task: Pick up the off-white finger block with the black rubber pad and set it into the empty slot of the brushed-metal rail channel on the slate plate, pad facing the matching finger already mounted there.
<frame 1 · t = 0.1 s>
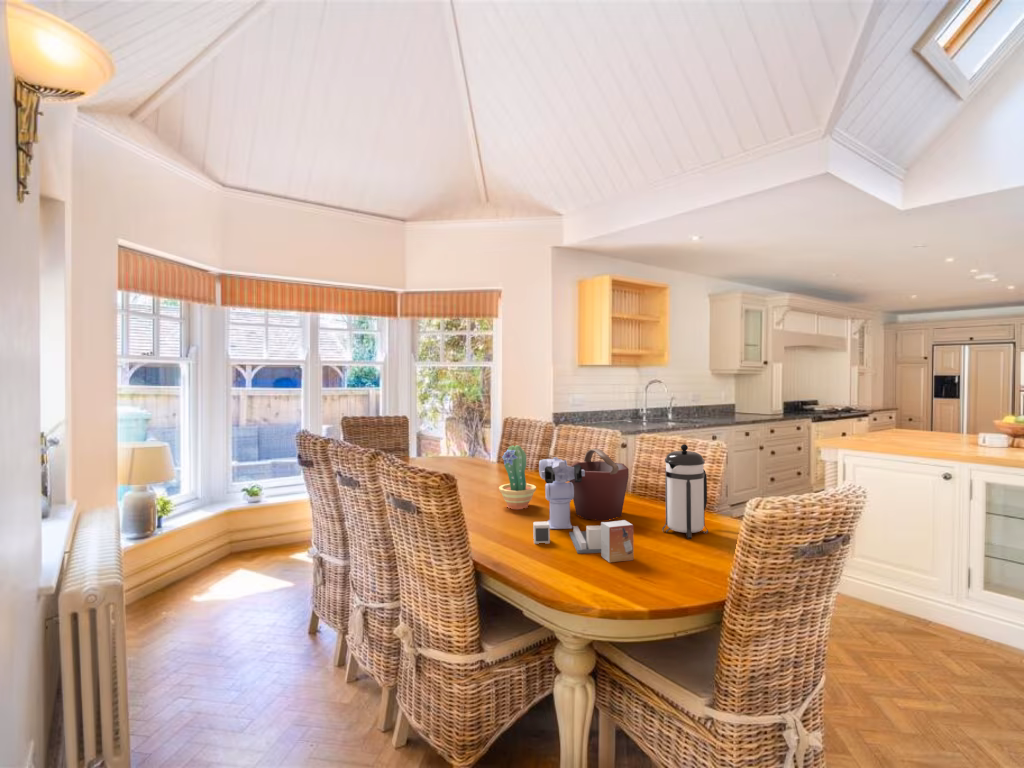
hand: (565, 477, 168), 22 cm above the table, tool horizontal, fingers open, 7 cm apart
small box: (617, 559, 155), on the table
potted cactus: (517, 506, 216), on the table
rail plate: (591, 543, 169), on the table
finger block: (541, 541, 172), on the table
coffee press: (686, 532, 179), on the table
bucket: (597, 515, 201), on the table
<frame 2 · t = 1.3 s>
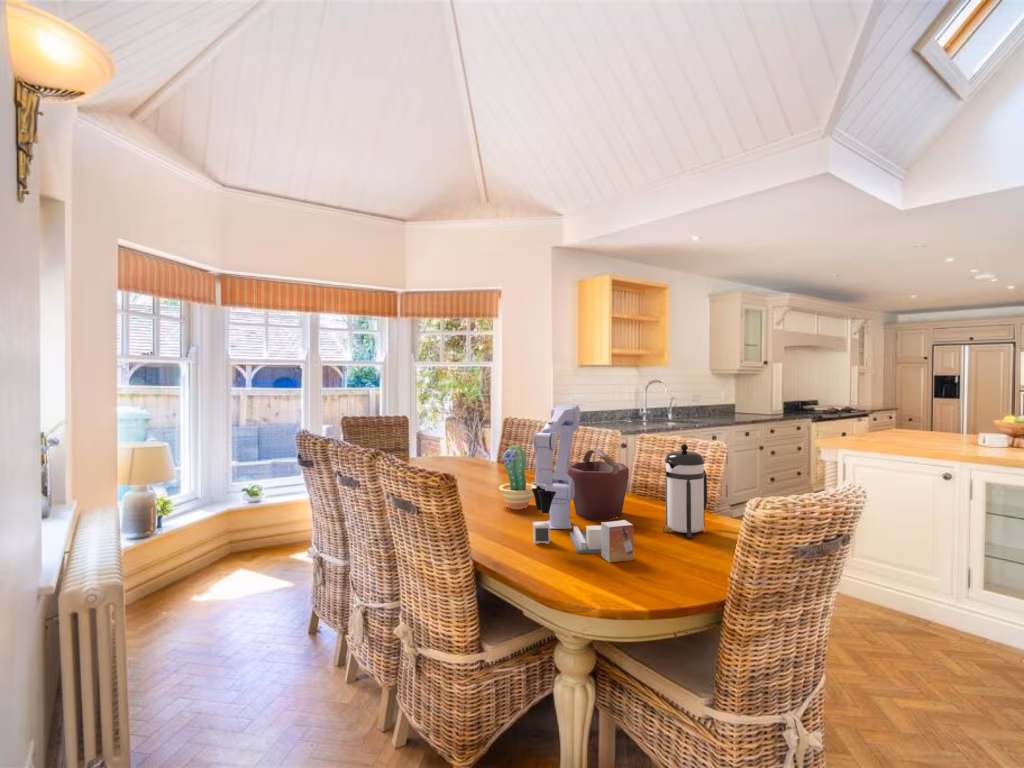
hand: (542, 511, 171), 10 cm above the table, tool pointing down, fingers open, 7 cm apart
nothing on the table moved.
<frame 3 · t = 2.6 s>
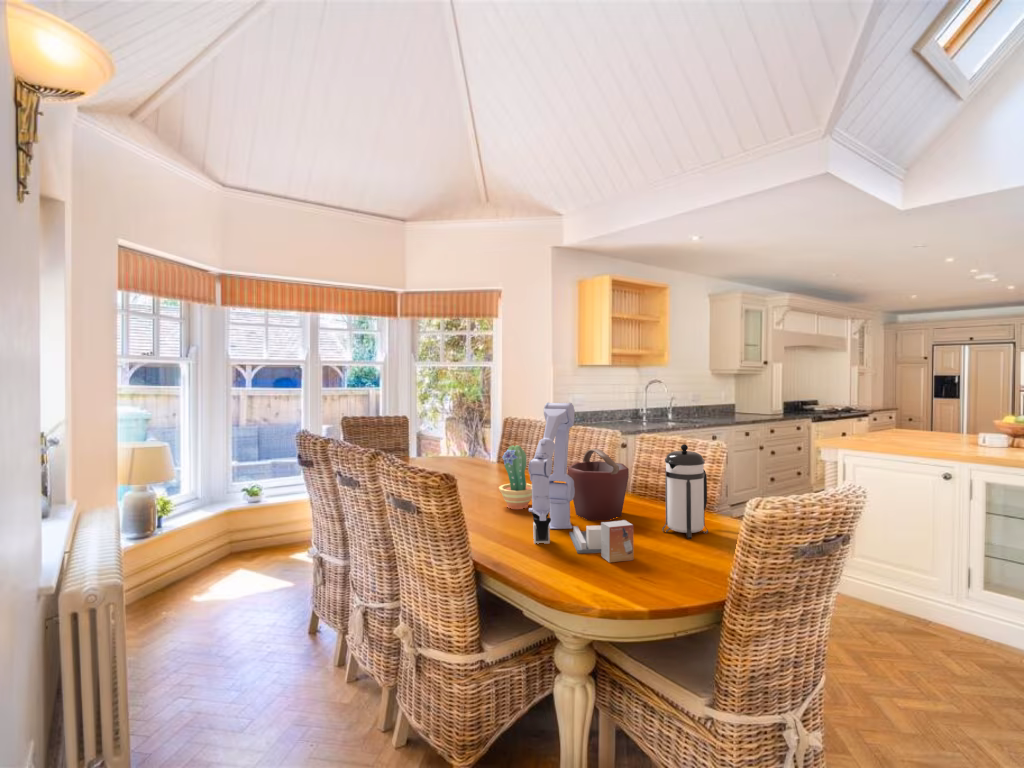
hand: (541, 536, 172), 2 cm above the table, tool pointing down, fingers open, 5 cm apart
finger block: (541, 541, 172), on the table, touching gripper
everything else where it was.
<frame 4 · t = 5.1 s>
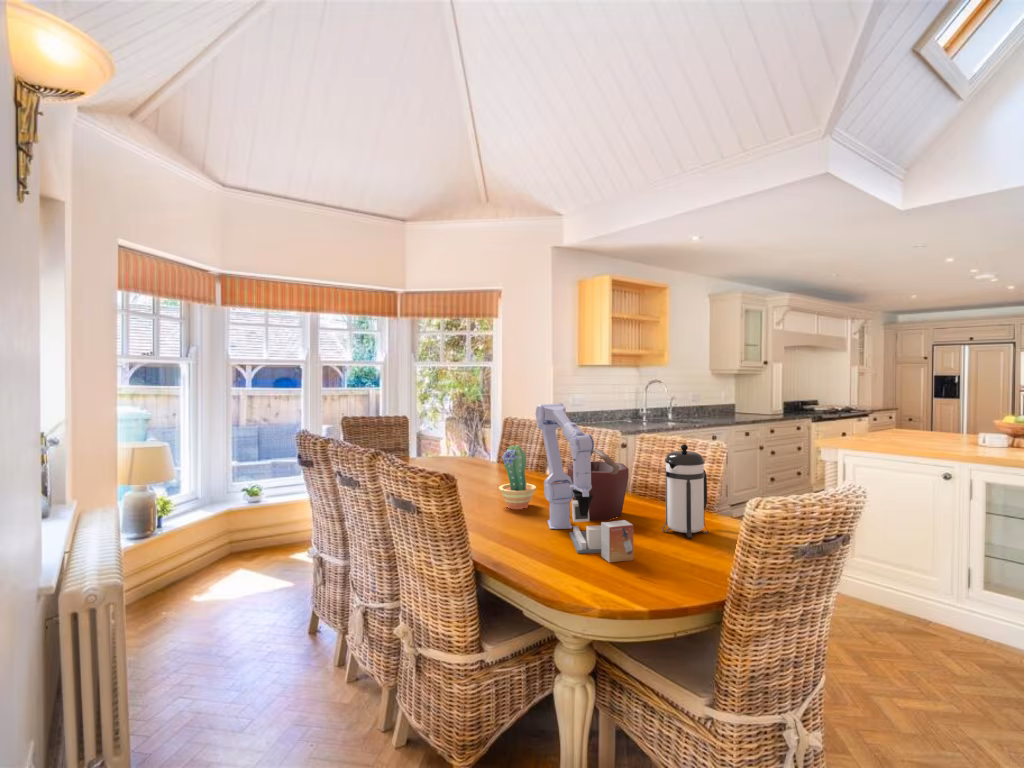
hand: (582, 513, 171), 9 cm above the table, tool pointing down, fingers closed on finger block, 4 cm apart
finger block: (580, 519, 172), point 7 cm above the table, touching gripper
everything else where it was.
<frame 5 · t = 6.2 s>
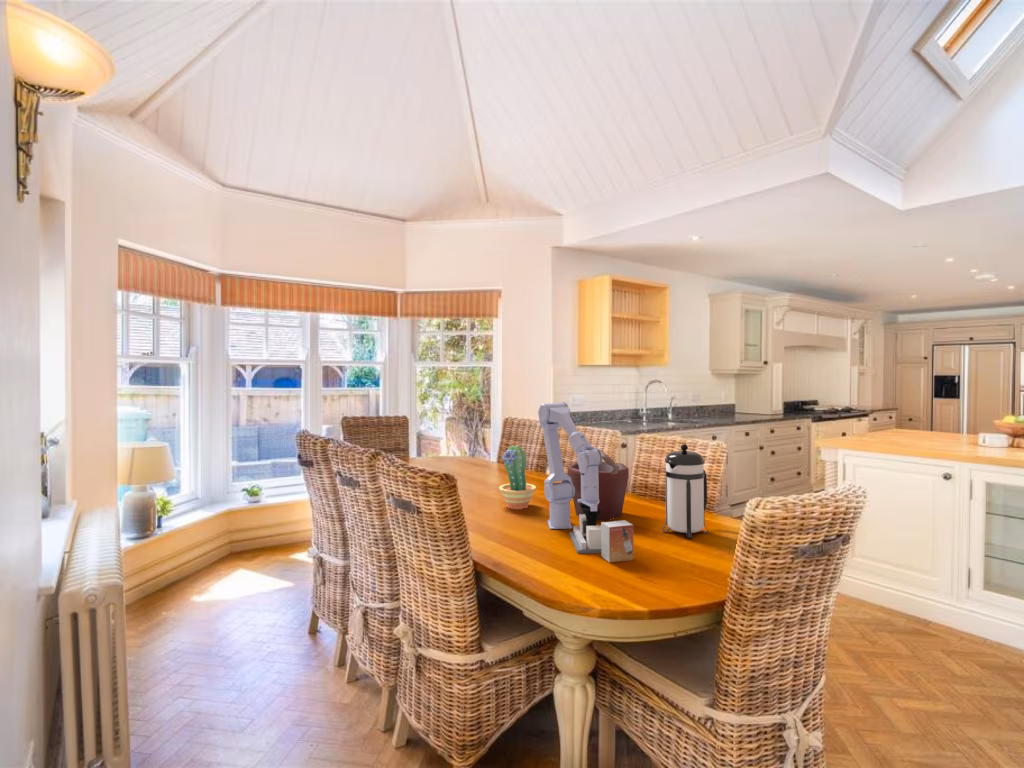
hand: (590, 527, 172), 4 cm above the table, tool pointing down, fingers closed on finger block, 4 cm apart
finger block: (588, 533, 172), point 2 cm above the table, touching gripper
everything else where it was.
when the fingers open (4 cm above the table, at t = 7.1 s): finger block stays where it is, resting on rail plate.
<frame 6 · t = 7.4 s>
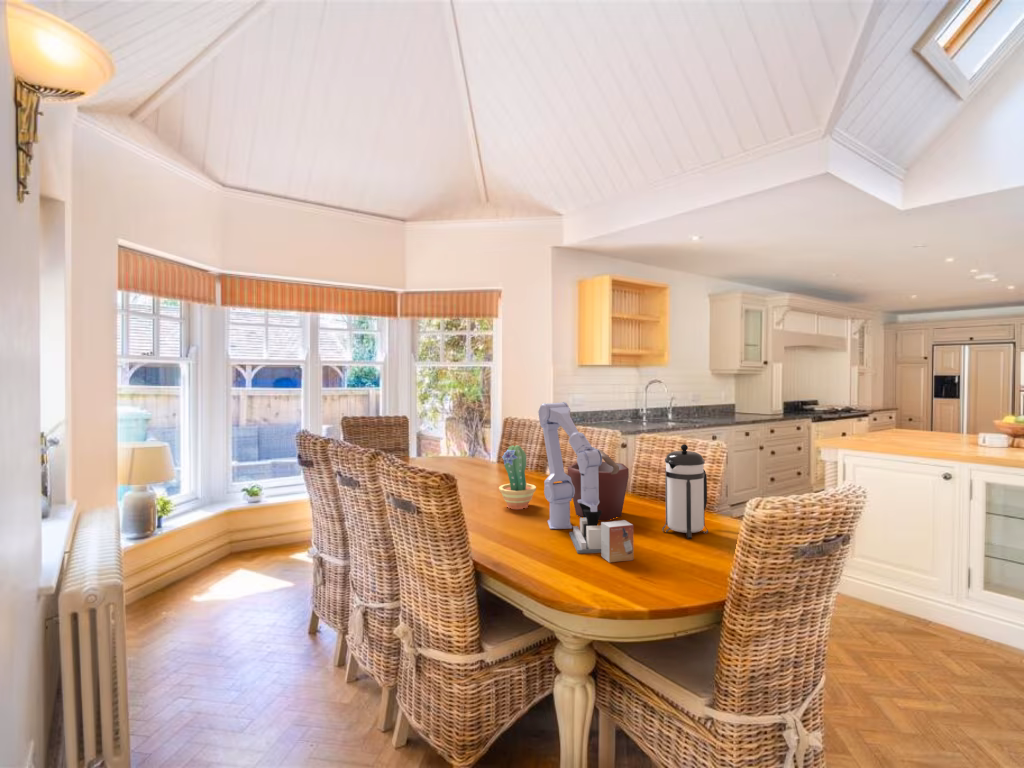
hand: (590, 528, 172), 4 cm above the table, tool pointing down, fingers open, 7 cm apart
finger block: (588, 537, 172), point 1 cm above the table, touching rail plate
everything else where it was.
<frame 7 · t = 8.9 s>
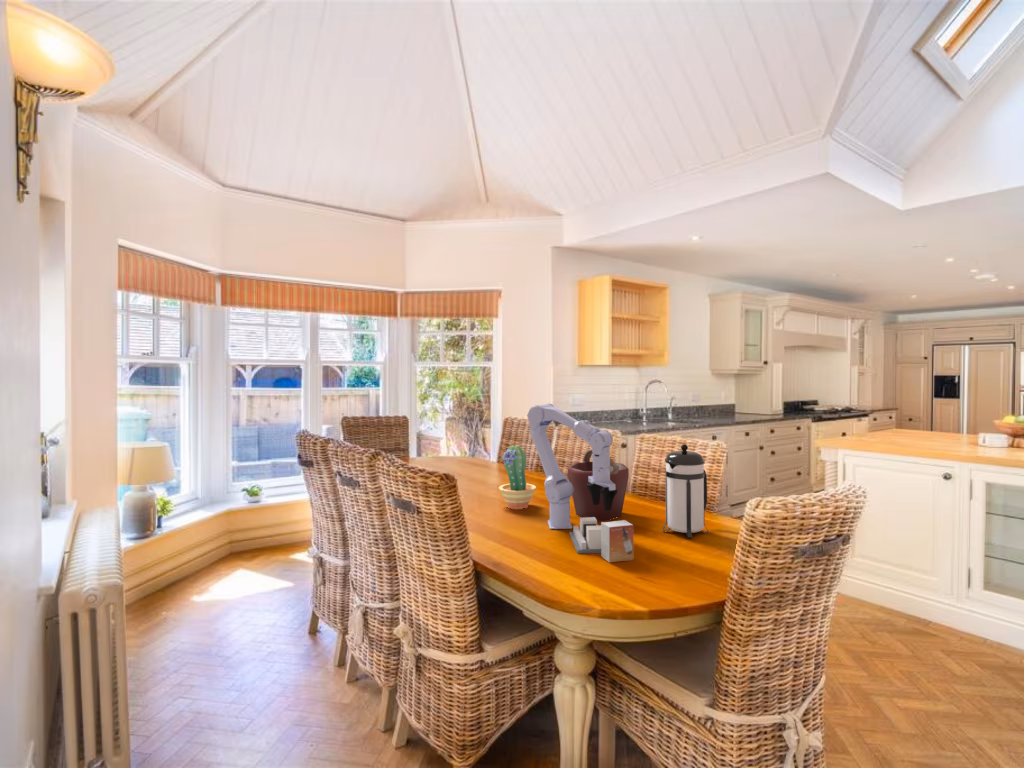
hand: (601, 507, 177), 9 cm above the table, tool pointing down, fingers open, 7 cm apart
nothing on the table moved.
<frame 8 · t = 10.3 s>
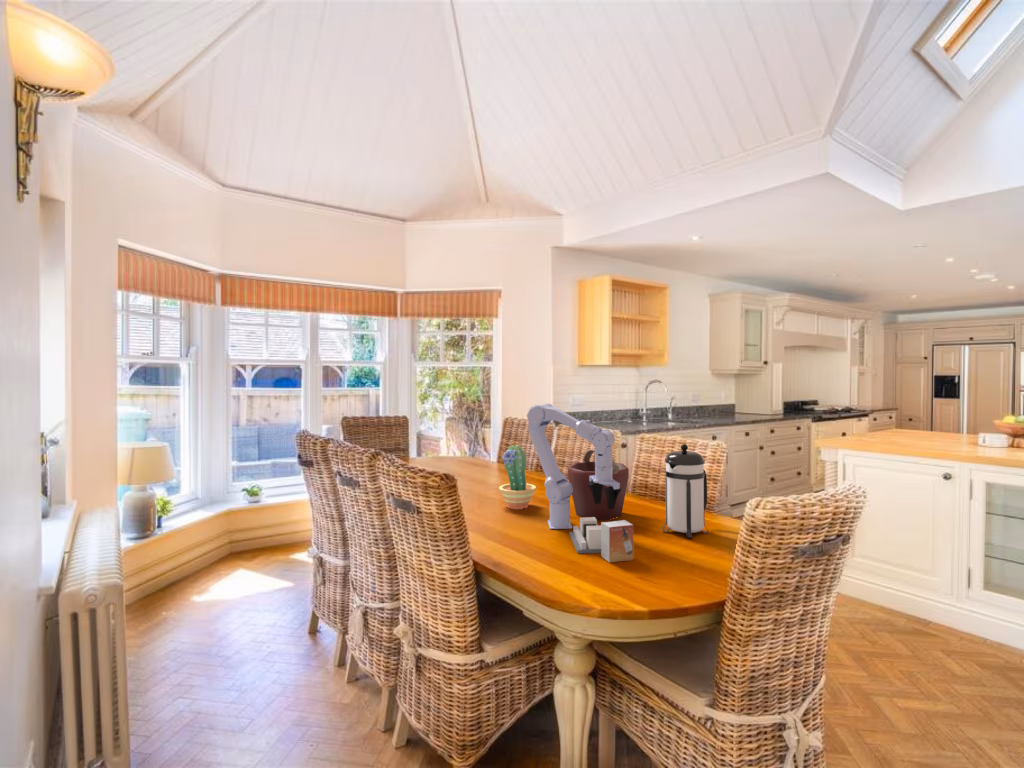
hand: (604, 506, 178), 9 cm above the table, tool pointing down, fingers open, 7 cm apart
nothing on the table moved.
at the end: finger block 0.6 cm from the target spot on the rail plate, point 1.0 cm above the rail plate's base; finger block tilted 0°; the gripper is holding nothing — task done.
